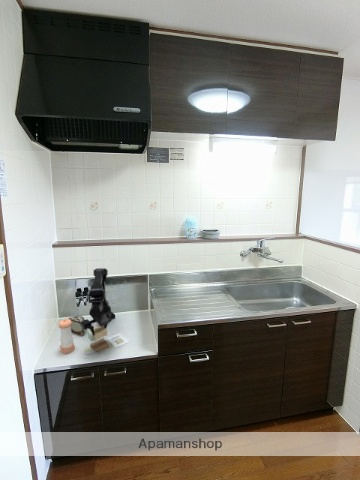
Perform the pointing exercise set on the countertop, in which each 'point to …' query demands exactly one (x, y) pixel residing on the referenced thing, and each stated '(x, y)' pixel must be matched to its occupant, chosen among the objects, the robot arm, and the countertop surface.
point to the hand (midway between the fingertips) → (99, 333)
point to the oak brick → (99, 332)
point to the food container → (77, 325)
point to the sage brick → (91, 336)
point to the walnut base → (100, 345)
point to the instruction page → (117, 340)
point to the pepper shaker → (66, 336)
